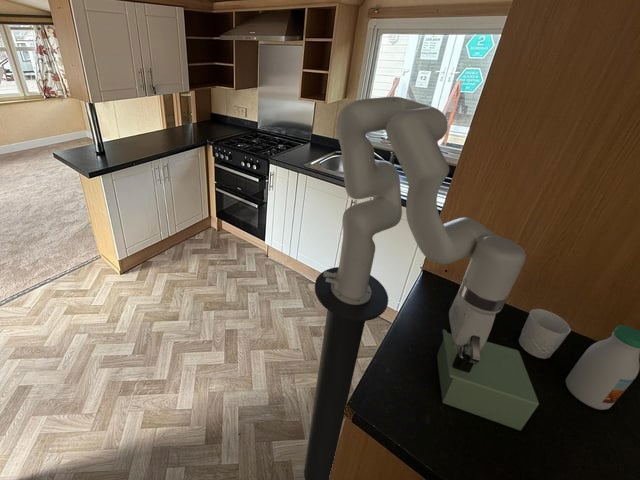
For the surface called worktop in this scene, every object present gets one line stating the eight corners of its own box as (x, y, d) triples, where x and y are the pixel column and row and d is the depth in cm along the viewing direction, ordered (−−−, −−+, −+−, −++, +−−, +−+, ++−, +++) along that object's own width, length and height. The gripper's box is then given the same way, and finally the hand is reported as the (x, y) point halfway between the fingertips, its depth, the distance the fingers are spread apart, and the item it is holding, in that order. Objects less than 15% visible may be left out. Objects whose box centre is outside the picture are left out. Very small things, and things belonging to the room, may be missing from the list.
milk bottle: (581, 408, 69) (629, 348, 60) (556, 375, 76) (596, 316, 67) (620, 413, 68) (675, 353, 59) (591, 379, 75) (636, 320, 66)
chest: (442, 402, 70) (453, 378, 66) (436, 355, 81) (446, 332, 77) (520, 430, 65) (537, 406, 61) (503, 376, 76) (517, 352, 72)
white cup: (561, 361, 79) (580, 334, 75) (531, 361, 79) (547, 334, 75) (536, 334, 86) (551, 308, 82) (508, 334, 86) (522, 308, 82)
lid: (449, 376, 67) (456, 361, 64) (442, 331, 77) (448, 316, 75) (537, 406, 61) (548, 390, 59) (517, 352, 72) (526, 337, 70)
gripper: (454, 263, 71) (434, 317, 79) (468, 320, 57) (442, 378, 65) (492, 272, 69) (469, 326, 76) (517, 333, 54) (485, 393, 62)
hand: (457, 350), depth 70 cm, fingers open, 9 cm apart
